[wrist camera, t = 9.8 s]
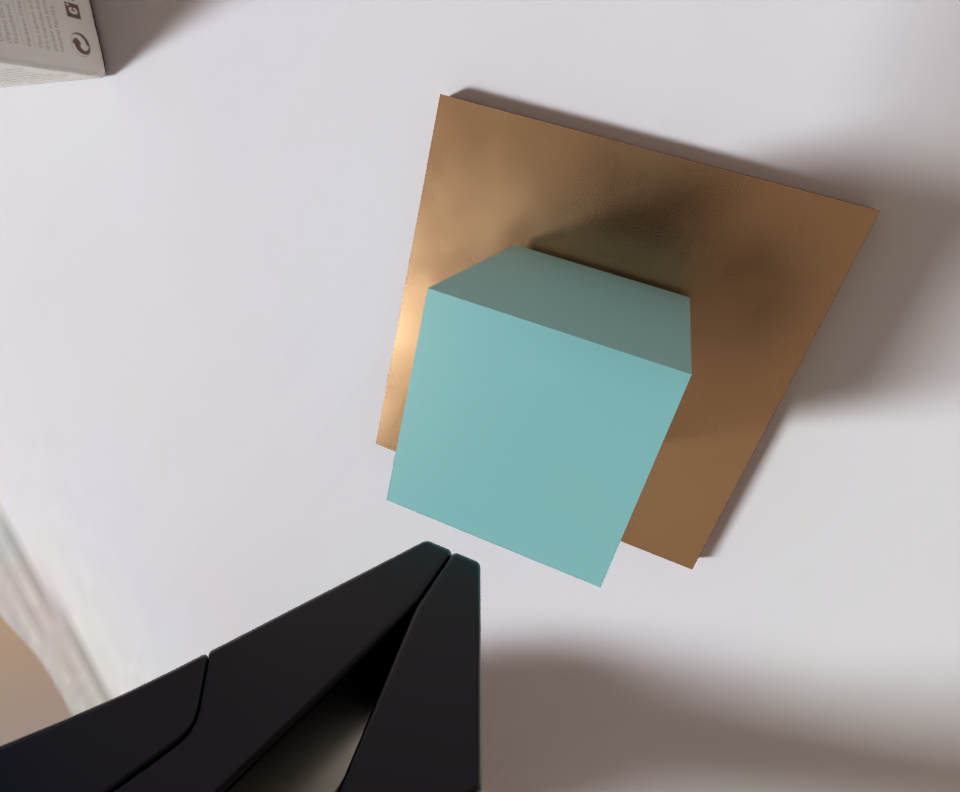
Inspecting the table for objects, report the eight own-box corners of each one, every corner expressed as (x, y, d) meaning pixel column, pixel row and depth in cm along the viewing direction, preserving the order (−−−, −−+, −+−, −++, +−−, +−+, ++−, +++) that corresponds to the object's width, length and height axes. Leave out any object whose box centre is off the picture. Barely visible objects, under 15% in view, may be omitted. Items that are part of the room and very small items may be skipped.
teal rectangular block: (627, 452, 19) (600, 587, 13) (476, 398, 20) (386, 499, 14) (689, 297, 16) (691, 374, 10) (514, 244, 17) (427, 288, 11)
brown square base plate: (691, 558, 20) (694, 733, 14) (383, 437, 23) (268, 541, 16) (873, 208, 15) (1002, 243, 9) (447, 96, 17) (315, 61, 11)
